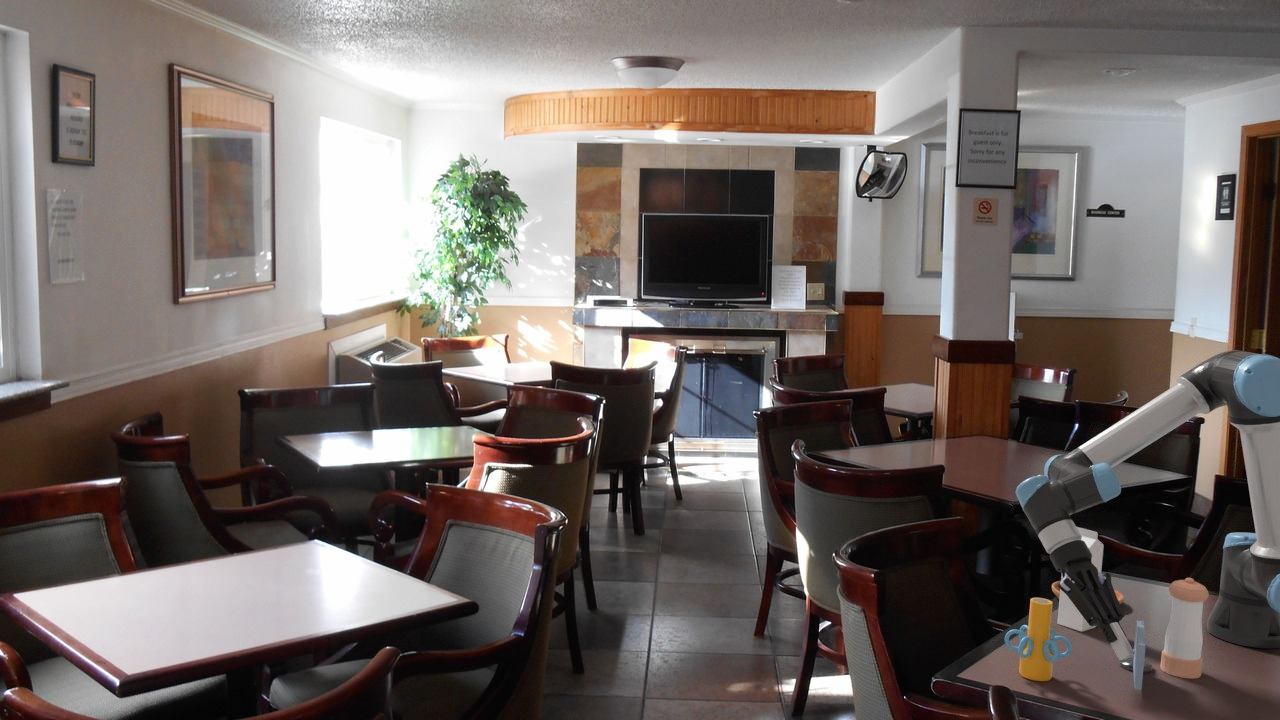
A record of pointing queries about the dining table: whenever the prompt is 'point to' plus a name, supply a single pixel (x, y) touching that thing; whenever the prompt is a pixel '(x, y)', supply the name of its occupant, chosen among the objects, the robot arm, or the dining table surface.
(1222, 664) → the dining table surface
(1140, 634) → the light blue rectangular panel
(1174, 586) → the pepper shaker
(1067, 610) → the milk
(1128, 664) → the shiny grey rounded piece
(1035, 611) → the tube with blue loops
